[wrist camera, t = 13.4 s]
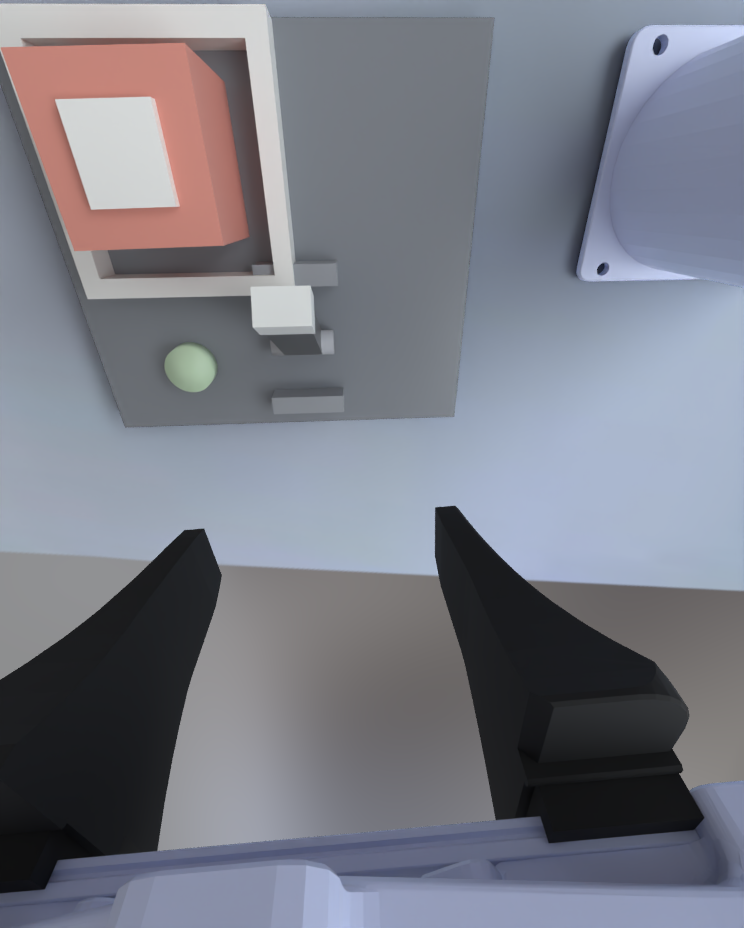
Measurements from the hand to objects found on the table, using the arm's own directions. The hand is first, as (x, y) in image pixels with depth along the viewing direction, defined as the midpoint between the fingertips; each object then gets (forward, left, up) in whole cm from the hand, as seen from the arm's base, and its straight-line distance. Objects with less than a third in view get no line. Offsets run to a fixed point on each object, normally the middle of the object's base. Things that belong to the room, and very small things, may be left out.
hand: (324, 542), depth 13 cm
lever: (+1, -4, -8) cm, 9 cm away
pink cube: (+5, -10, -9) cm, 14 cm away
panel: (+2, -7, -10) cm, 12 cm away
